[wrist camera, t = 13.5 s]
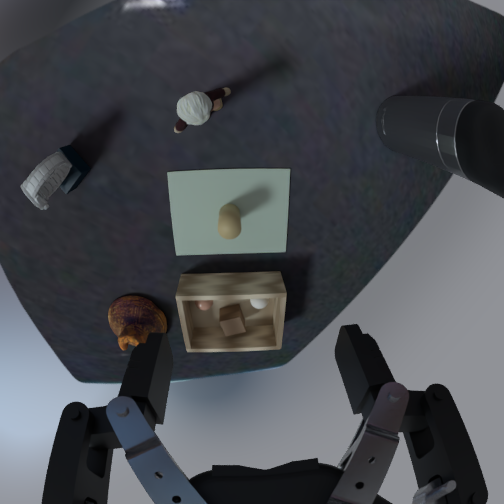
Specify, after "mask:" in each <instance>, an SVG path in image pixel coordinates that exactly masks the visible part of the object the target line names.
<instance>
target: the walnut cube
mask: <svg viewBox="0 0 504 504" xmlns="http://www.w3.org/2000/svg"><path fill="white" fill-rule="evenodd" d="M219 323H220V325H221V327H222V329H223V331H224V333H225V336H230V335H234V334H239V333H243V332H246V328H245V318H244V315H243V313H242V310H241V307H240V305H239V304H236V305H232V306H227V307H223V308H220V311H219Z"/></svg>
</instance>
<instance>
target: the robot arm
mask: <svg viewBox="0 0 504 504" xmlns="http://www.w3.org/2000/svg"><path fill="white" fill-rule="evenodd" d="M376 126H377V130H378V134H379V136H380V138H381V140H382V141H383V143H384V144H385V145H386V146H387V147H388V148H389V149H391V150H392V151H395V152H398V153H401V154H404V155H407V156H409V157H412V158H415V159H418V160H420V161H423V162H426V163H428V164H431V165H434V166H436V167H439V168H441V169H444V170H446V171H449V172H451V173H454V174H456V175H459V176H461V177H463V178H465V179H468V180H470V181H472V182H474V183H476V184H478V185H480V186H482V187H484V188H486V189H488V190H489V191H491V192H493V193H495V194H497V195H499V196H500V197H502V198H504V110H503V109H502V108H501V107H500V106H498V105H496V104H495V103H492V102H488V101H480V100H472V99H463V98H450V97H433V96H393V97H390V98H388V99H386V100H385V101H384V102H383V103H382V104H381V106H380V107H379V110H378V113H377V118H376ZM335 359H336V362H337V365H338V368H339V371H340V374H341V377H342V379H343V383H344V386H345V389H346V392H347V395H348V398H349V401H350V404H351V407H352V410H353V414H359V413H362V416H363V419H362V421H361V423H360V425H359V428H358V429H357V432H356V434H355V436H354V438H353V440H352V442H351V444H350V446H349V448H348V450H347V451H346V453H345V455H344V456H343V458H342V459H341V461H340V463H339V464H338V466H337V467H335V466H332V465H328V464H323V463H318V458H314V459H308V460H301V461H292V462H290V463H287V464H284V465H281V466H277V467H274V468H271V469H267V470H262V469H257V468H250V467H245V466H240V465H212V470H210V471H206V472H203V473H201V474H198V475H196V476H194V477H192V478H191V479H190V480H189V479H188V478H187V477H186V475H185V474H184V472H183V471H182V470H181V469H180V467H179V466H178V465H177V464H176V462H175V461H174V459H173V458H172V457H171V455H170V454H169V452H168V451H167V450H166V448H165V447H164V445H163V444H162V443H161V441H160V440H159V438H158V436H157V435H156V433H155V432H154V431H155V425H156V424H163V422H164V416H165V409H166V403H167V397H168V391H169V386H170V380H171V374H172V369H173V355H172V351H171V348H170V345H169V341H168V338H167V335H166V333H157V332H150V333H149V334H148V337H147V340H146V343H139V344H138V345H137V346H136V347H135V348H134V350H133V351H132V354H131V357H130V361H129V363H128V366H127V369H126V372H125V375H124V378H123V382H122V385H121V388H120V391H119V394H118V397H116V398H114V399H112V400H111V401H110V402H109V403H108V405H107V406H103V407H96V408H87V407H86V405H85V404H83V403H81V402H72V403H70V404H68V405H67V406H66V407H65V408H64V410H63V412H62V415H61V418H60V422H59V425H58V429H57V432H56V436H55V440H54V444H53V448H52V452H51V456H50V460H49V465H48V469H47V474H46V480H45V485H44V491H43V497H42V504H107V500H108V489H109V479H110V471H111V463H112V456H113V449H115V448H123V449H124V450H125V453H126V454H125V456H126V459H127V461H128V462H129V464H130V466H131V468H132V469H133V471H134V472H135V474H136V476H137V478H138V479H139V481H140V482H141V484H142V485H143V487H144V489H145V490H146V492H147V493H148V495H149V496H150V498H151V499H152V500H153V502H154V503H155V504H392V503H390V502H389V501H387V500H386V499H384V498H383V497H381V496H379V495H378V494H377V493H378V491H379V489H380V487H381V485H382V483H383V480H384V478H385V476H386V474H387V471H388V469H389V467H390V464H391V462H392V459H393V456H394V454H395V451H396V448H397V446H398V443H399V437H398V432H403V434H404V437H405V440H406V444H407V447H408V450H409V454H410V457H411V461H412V465H413V468H414V472H415V475H416V480H417V484H418V487H419V490H417V492H416V493H415V495H414V497H413V503H412V504H486V502H487V499H488V491H487V487H486V484H485V480H484V478H483V474H482V471H481V468H480V465H479V462H478V459H477V456H476V454H475V451H474V448H473V445H472V443H471V440H470V437H469V435H468V432H467V430H466V428H465V425H464V423H463V420H462V418H461V416H460V413H459V411H458V409H457V407H456V404H455V402H454V400H453V398H452V396H451V394H450V392H449V390H448V389H447V388H446V387H445V386H443V385H441V384H432V385H430V386H429V387H428V388H427V389H426V391H410V390H407V389H406V388H405V387H404V386H403V385H402V384H400V383H397V382H396V381H395V380H394V378H393V375H392V373H391V371H390V369H389V368H388V365H387V363H386V361H385V359H384V357H383V355H382V353H381V351H380V350H379V347H378V345H377V343H376V341H375V340H374V339H373V338H372V337H371V336H370V335H369V334H362V331H361V329H360V327H359V326H358V325H357V324H353V325H345V326H341V328H340V331H339V335H338V339H337V343H336V346H335Z"/></svg>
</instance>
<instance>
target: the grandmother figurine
mask: <svg viewBox="0 0 504 504" xmlns="http://www.w3.org/2000/svg"><path fill="white" fill-rule="evenodd" d="M230 93H231V91H230V89H229V88H219V89H215V90H213V91H209V92H205V93H203V92H198V91H196V92H192V93H189V94H187V95H186V96H184V97H182V98H181V99H180V100H179V101H178V104H177V113H178V116H179V117H180V119H179V121H178V122H177V123H176V125H175V127H174V131H175V132H176V133H180V132H182V131H183V130H185V128H186V127H187V126H188V124H193V125H201V124H203V123H204V122H206V121H207V120H208V119H209V118H210V113H211V112H212V111H213V110H214V111H218V110H220V109H221V108H222V106H223V104H222V100H221V98H223V97H224V96H228V95H229V94H230Z"/></svg>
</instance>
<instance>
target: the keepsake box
mask: <svg viewBox="0 0 504 504" xmlns="http://www.w3.org/2000/svg"><path fill="white" fill-rule="evenodd" d="M286 296H287V292H286V289H285V285H284V282H283V279H282V275H281V272H280V271H271V272H241V273H205V274H181V277H180V281H179V285H178V289H177V293H176V301H177V306H178V312H179V317H180V322H181V327H182V331H183V336H184V341H185V345H186V350H187V352H233V351H257V350H274V349H281V344H282V335H283V326H284V316H285V306H286ZM263 298H269V302H268V304H267V306H266V307H264V308H262V309H257V308H255V307H253V306H252V304H251V302H250V299H263ZM195 300H213V305H212V307H211V308H210V309H208V310H205V311H203V310H200V309H198V308H197V307H196V305H195ZM236 304H239V305H240V307H241V310H242V313H243V315H244V318H245V328H246V332H243V333H239V334H234V335H230V336H225V333H224V331H223V329H222V327H221V325H220V323H219V311H220V308H223V307H227V306H232V305H236Z"/></svg>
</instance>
